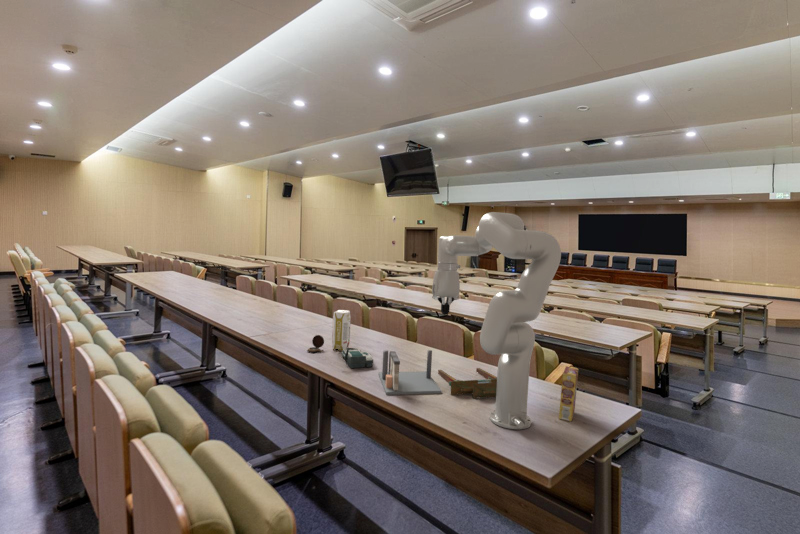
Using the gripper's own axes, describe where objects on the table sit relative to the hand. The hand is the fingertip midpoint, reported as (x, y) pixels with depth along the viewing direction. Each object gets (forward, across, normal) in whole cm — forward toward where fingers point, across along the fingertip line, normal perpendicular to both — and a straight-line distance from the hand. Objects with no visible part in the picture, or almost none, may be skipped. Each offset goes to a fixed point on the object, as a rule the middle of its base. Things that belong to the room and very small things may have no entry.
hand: (444, 314), depth 159 cm
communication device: (+28, +31, -31) cm, 52 cm away
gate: (+26, +20, +4) cm, 33 cm away
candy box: (+27, -32, +35) cm, 55 cm away
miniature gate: (+28, -12, +5) cm, 31 cm away
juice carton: (+27, +36, -51) cm, 68 cm away
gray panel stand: (+27, +14, 0) cm, 30 cm away
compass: (+27, +48, -47) cm, 73 cm away
